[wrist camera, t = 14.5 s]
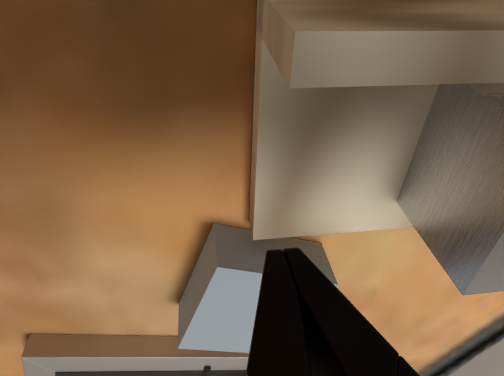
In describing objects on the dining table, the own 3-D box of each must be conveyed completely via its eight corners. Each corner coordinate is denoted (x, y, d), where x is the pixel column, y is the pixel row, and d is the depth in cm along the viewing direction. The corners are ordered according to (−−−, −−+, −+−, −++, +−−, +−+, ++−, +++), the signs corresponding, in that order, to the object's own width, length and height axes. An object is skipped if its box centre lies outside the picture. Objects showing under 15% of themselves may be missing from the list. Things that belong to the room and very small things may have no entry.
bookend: (521, 67, 13) (666, 138, 9) (457, 197, 16) (540, 286, 13) (444, 69, 12) (560, 144, 9) (396, 201, 16) (462, 295, 12)
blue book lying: (319, 238, 19) (337, 284, 17) (272, 309, 23) (281, 355, 20) (213, 218, 17) (217, 267, 15) (179, 299, 21) (177, 348, 18)
